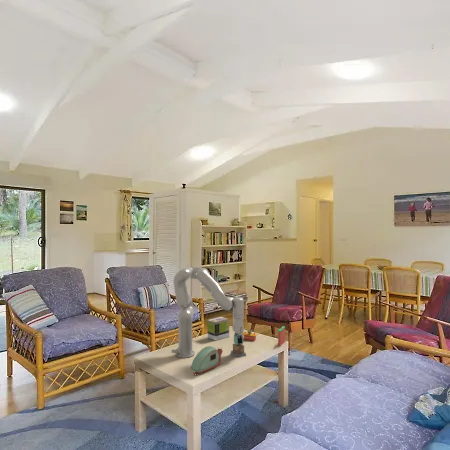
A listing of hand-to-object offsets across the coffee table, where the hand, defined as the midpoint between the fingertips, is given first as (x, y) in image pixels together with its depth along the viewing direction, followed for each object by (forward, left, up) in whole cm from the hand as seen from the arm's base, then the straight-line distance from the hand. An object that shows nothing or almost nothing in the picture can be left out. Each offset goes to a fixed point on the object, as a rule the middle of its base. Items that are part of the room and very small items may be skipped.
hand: (238, 341), depth 234 cm
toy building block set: (+27, +20, -10) cm, 35 cm away
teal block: (0, 0, -1) cm, 1 cm away
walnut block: (0, 0, -7) cm, 7 cm away
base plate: (0, 0, -10) cm, 10 cm away
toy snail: (-26, -15, -10) cm, 32 cm away
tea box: (-1, +41, -10) cm, 42 cm away
